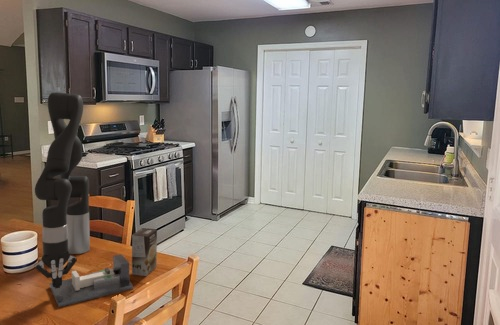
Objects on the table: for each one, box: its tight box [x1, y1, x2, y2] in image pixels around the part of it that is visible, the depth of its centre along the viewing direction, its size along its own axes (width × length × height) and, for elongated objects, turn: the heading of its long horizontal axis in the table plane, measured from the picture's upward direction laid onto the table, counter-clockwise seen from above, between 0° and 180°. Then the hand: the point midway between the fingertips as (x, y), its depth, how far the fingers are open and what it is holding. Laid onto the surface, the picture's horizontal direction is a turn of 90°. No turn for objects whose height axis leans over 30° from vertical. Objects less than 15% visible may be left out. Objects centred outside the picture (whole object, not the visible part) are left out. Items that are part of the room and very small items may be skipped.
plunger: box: [71, 267, 114, 291], centre depth 136 cm, size 6×13×5 cm, turn 126°
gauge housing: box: [49, 253, 134, 308], centre depth 135 cm, size 16×24×8 cm, turn 126°
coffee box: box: [131, 227, 158, 277], centre depth 150 cm, size 9×6×16 cm
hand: (57, 287), depth 129 cm, fingers closed
